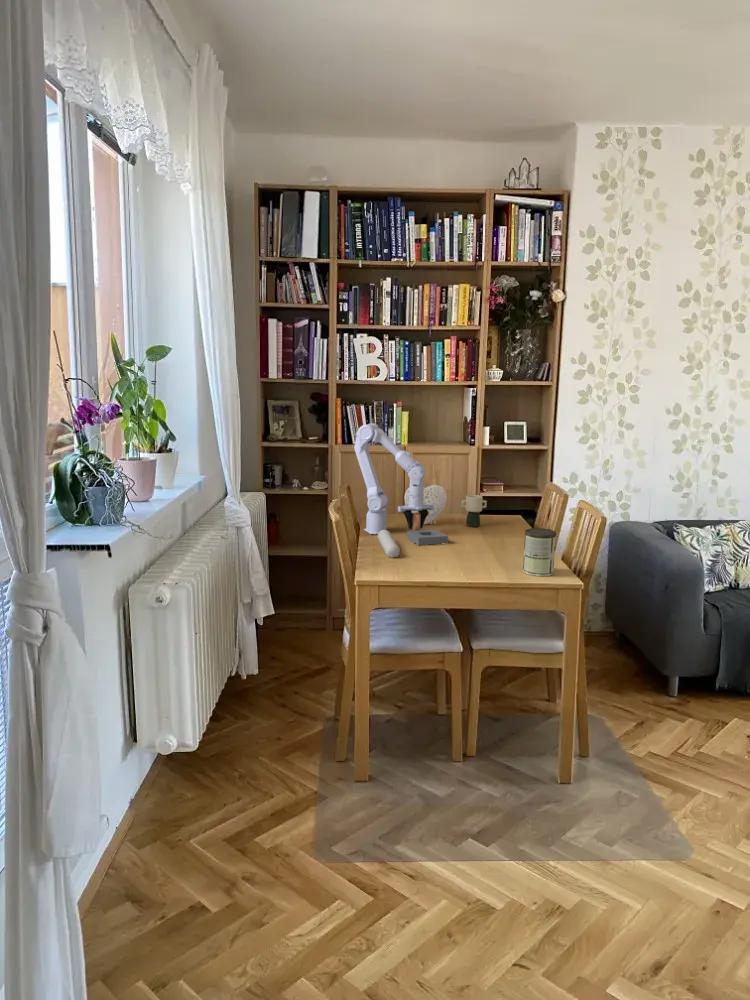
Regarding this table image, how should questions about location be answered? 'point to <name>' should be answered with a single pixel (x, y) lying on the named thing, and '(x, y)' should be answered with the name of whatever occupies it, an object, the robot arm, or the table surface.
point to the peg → (416, 522)
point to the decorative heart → (431, 501)
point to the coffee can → (539, 552)
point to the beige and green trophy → (473, 509)
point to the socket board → (427, 537)
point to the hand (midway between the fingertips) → (415, 528)
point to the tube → (388, 543)
